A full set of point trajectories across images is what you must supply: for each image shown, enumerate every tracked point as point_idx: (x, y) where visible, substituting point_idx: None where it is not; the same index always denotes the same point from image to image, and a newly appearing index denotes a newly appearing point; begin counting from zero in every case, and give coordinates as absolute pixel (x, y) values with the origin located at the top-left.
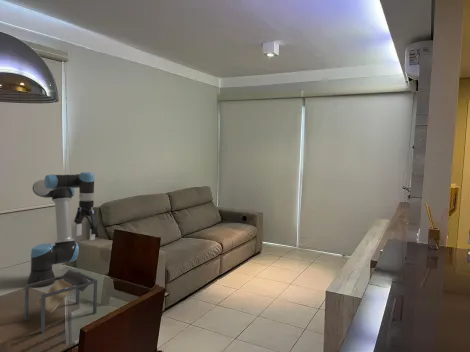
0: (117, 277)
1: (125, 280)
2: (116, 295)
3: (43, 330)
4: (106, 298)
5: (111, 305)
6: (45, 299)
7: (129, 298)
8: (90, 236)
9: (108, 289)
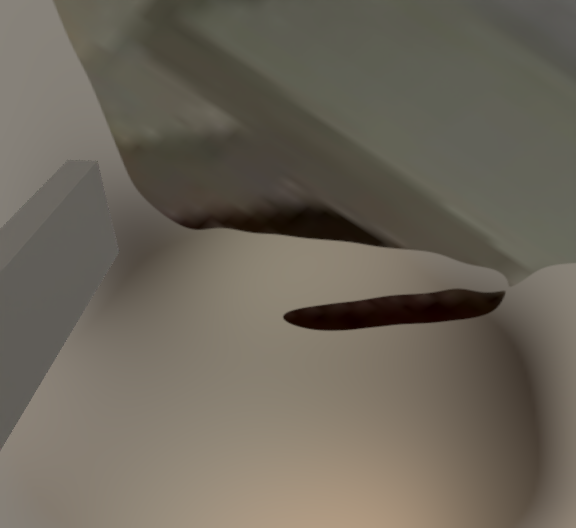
0: (451, 304)
1: (378, 304)
2: (227, 154)
3: None
4: (227, 88)
5: (112, 48)
6: None
7: (142, 177)
8: (29, 204)
9: (340, 175)
